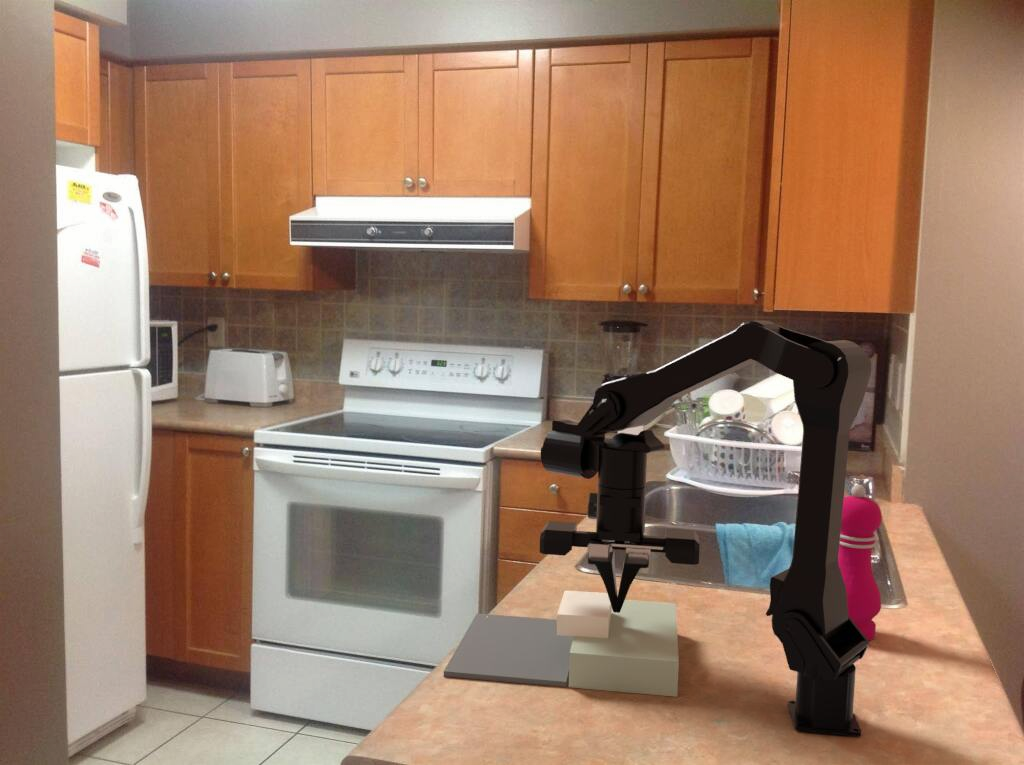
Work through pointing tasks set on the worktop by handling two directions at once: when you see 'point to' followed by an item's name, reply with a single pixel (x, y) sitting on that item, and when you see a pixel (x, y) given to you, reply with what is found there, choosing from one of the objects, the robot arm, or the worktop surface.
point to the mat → (512, 651)
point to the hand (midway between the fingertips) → (616, 611)
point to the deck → (630, 652)
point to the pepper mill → (860, 559)
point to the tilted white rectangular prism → (584, 614)
